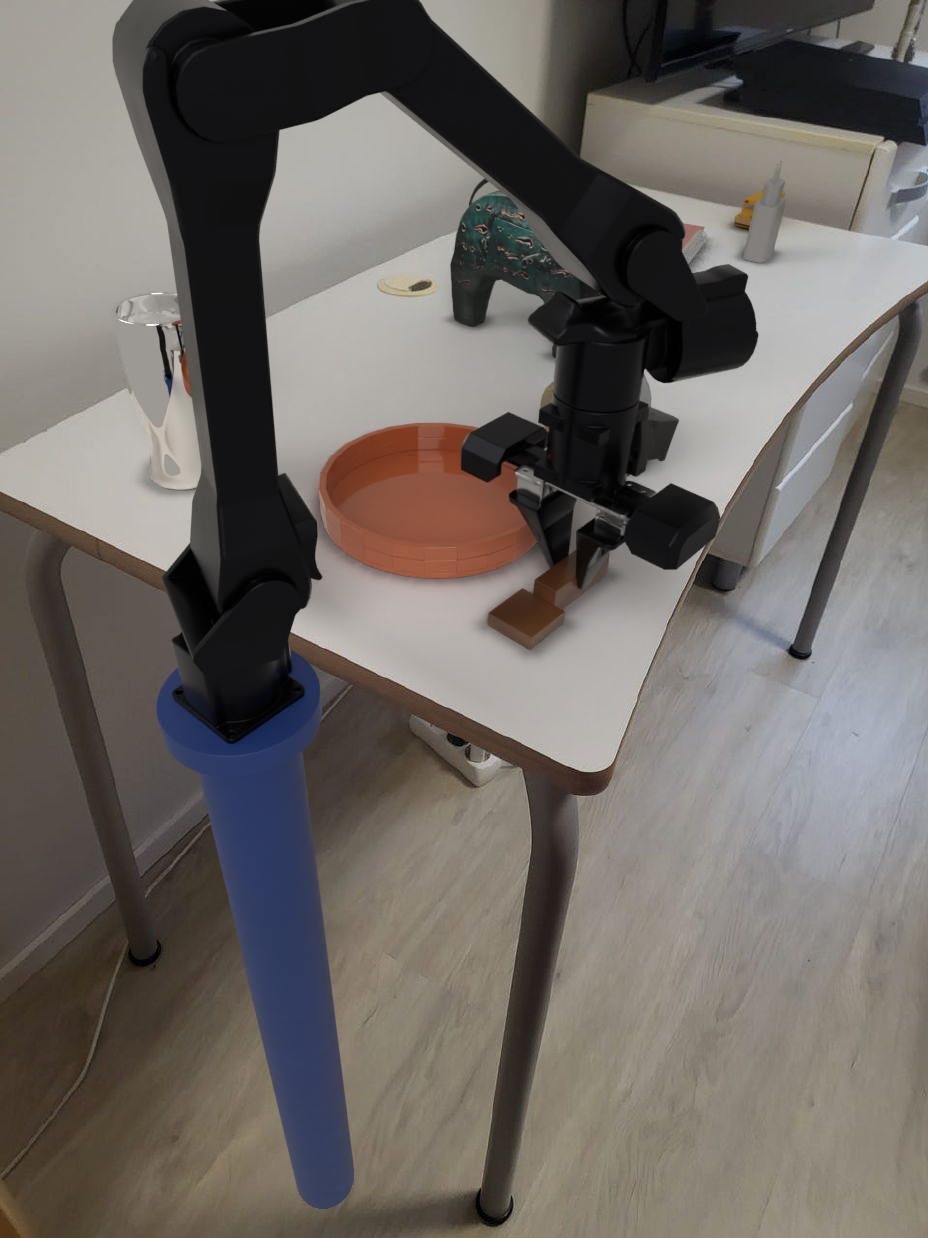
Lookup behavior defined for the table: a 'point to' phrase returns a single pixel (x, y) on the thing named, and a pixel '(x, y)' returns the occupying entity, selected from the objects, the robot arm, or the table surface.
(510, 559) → the bowl
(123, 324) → the beer glass
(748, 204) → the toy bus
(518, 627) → the stepped brown block
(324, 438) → the table surface
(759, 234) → the grey nozzle bottle
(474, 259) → the ceramic cat
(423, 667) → the table surface
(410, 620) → the table surface
